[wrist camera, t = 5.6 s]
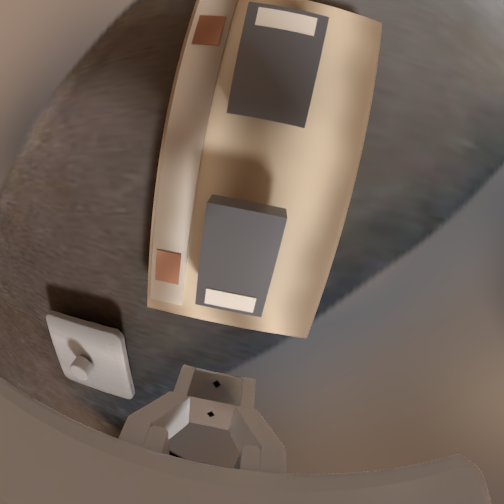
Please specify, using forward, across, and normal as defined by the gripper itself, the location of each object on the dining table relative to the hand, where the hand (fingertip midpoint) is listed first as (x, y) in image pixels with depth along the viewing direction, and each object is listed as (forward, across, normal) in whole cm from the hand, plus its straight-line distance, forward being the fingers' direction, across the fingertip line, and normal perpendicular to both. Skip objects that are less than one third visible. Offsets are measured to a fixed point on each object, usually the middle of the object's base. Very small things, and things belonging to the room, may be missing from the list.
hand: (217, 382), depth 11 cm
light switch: (+13, +14, +14) cm, 24 cm away
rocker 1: (+8, 0, -14) cm, 16 cm away
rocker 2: (+8, 0, -2) cm, 8 cm away
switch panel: (+13, 0, -8) cm, 16 cm away
